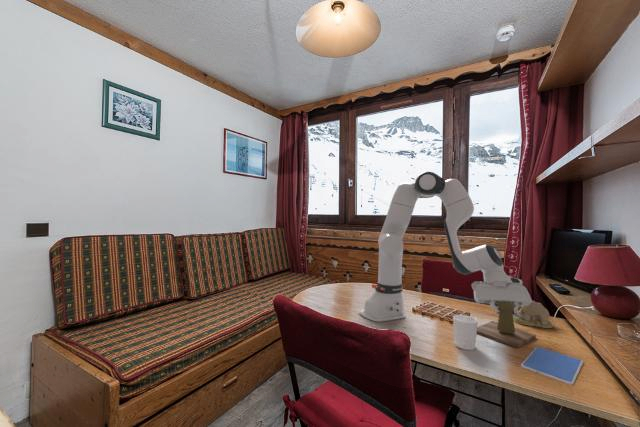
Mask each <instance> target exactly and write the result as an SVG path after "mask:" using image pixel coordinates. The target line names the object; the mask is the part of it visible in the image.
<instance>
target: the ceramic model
mask: <svg viewBox="0 0 640 427" xmlns="http://www.w3.org/2000/svg"><path fill="white" fill-rule="evenodd" d="M517 311H518V315H513V321H514V323H517V324H519V325H523V326H524V325H525V326H530V327H538V328H543V329H552V328H554V324H553V323H552V322H550V320H549V318H550V316H551V315H550V312H549V310H548V309H547V308H546V307H544V305H543V304H542V303H540V302H536V301H535V300H532V301H531V303H530V304H529V305H528V306H518V309H517Z"/></svg>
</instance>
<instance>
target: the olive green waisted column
mask: <svg viewBox="0 0 640 427" xmlns="http://www.w3.org/2000/svg"><path fill="white" fill-rule="evenodd" d="M497 305H498V307H497V308H499V309H500V311H501V313H500V314H498V319H497V323H498V324H497V329H498V330H499V331H501V332H505V333H515V328H516V327H515V321H514V320H513V313H512V312H513V311H514V308H515V307H514V306H513V304H512V303H509V302H500V303H499V304H497Z"/></svg>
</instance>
